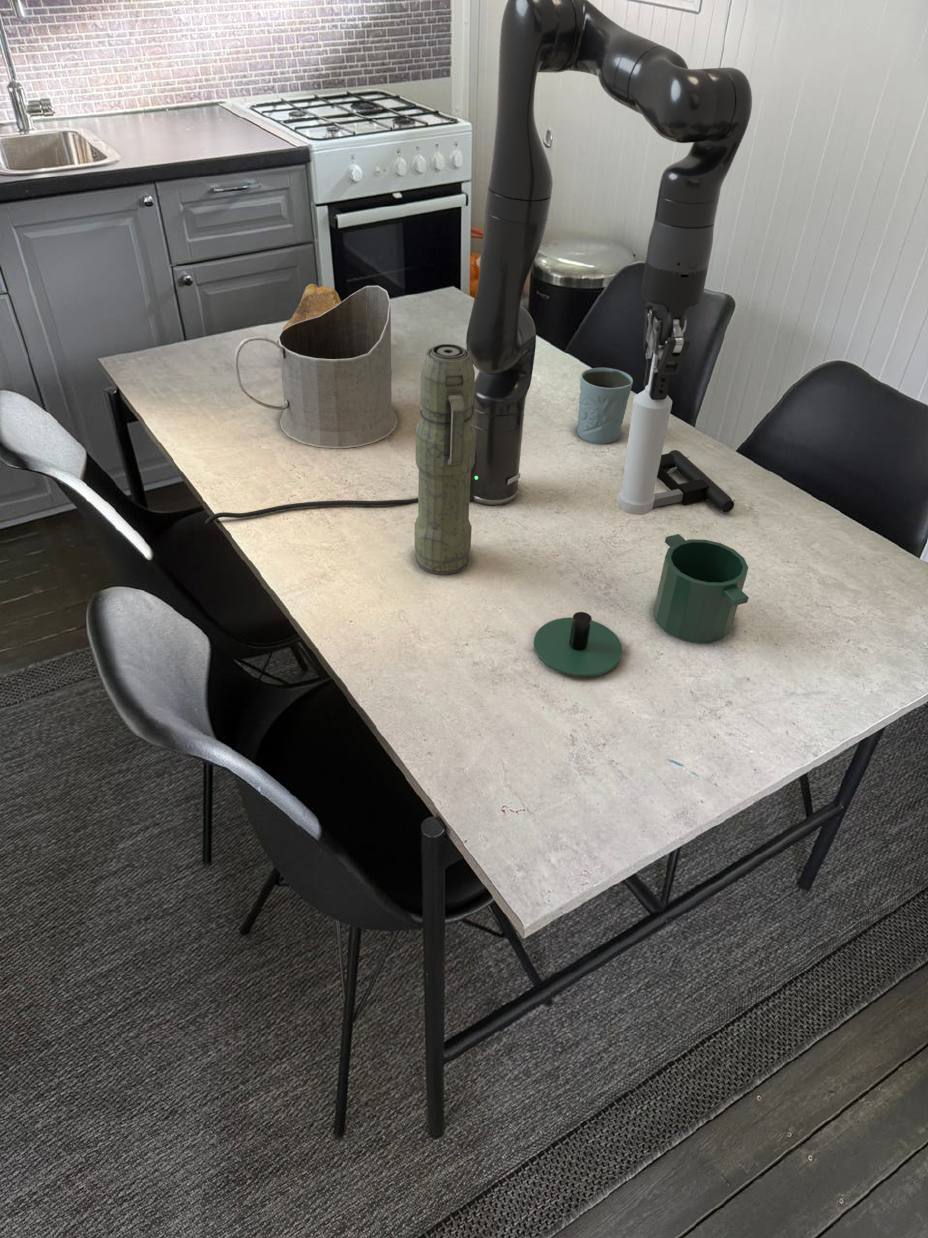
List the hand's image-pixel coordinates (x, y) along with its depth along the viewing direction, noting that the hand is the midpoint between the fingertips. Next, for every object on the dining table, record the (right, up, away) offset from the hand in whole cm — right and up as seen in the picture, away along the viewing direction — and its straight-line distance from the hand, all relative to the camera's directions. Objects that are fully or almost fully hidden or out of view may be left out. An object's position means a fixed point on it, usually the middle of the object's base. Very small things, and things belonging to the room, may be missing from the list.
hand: (654, 392), depth 121 cm
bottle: (-1, -14, +11) cm, 18 cm away
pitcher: (-54, +8, +61) cm, 82 cm away
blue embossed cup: (+2, +7, +63) cm, 64 cm away
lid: (-9, -34, +9) cm, 37 cm away
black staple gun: (+12, -7, +46) cm, 48 cm away
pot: (+9, -30, +17) cm, 35 cm away
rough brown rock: (-58, +27, +84) cm, 106 cm away
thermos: (-29, -21, +26) cm, 44 cm away
